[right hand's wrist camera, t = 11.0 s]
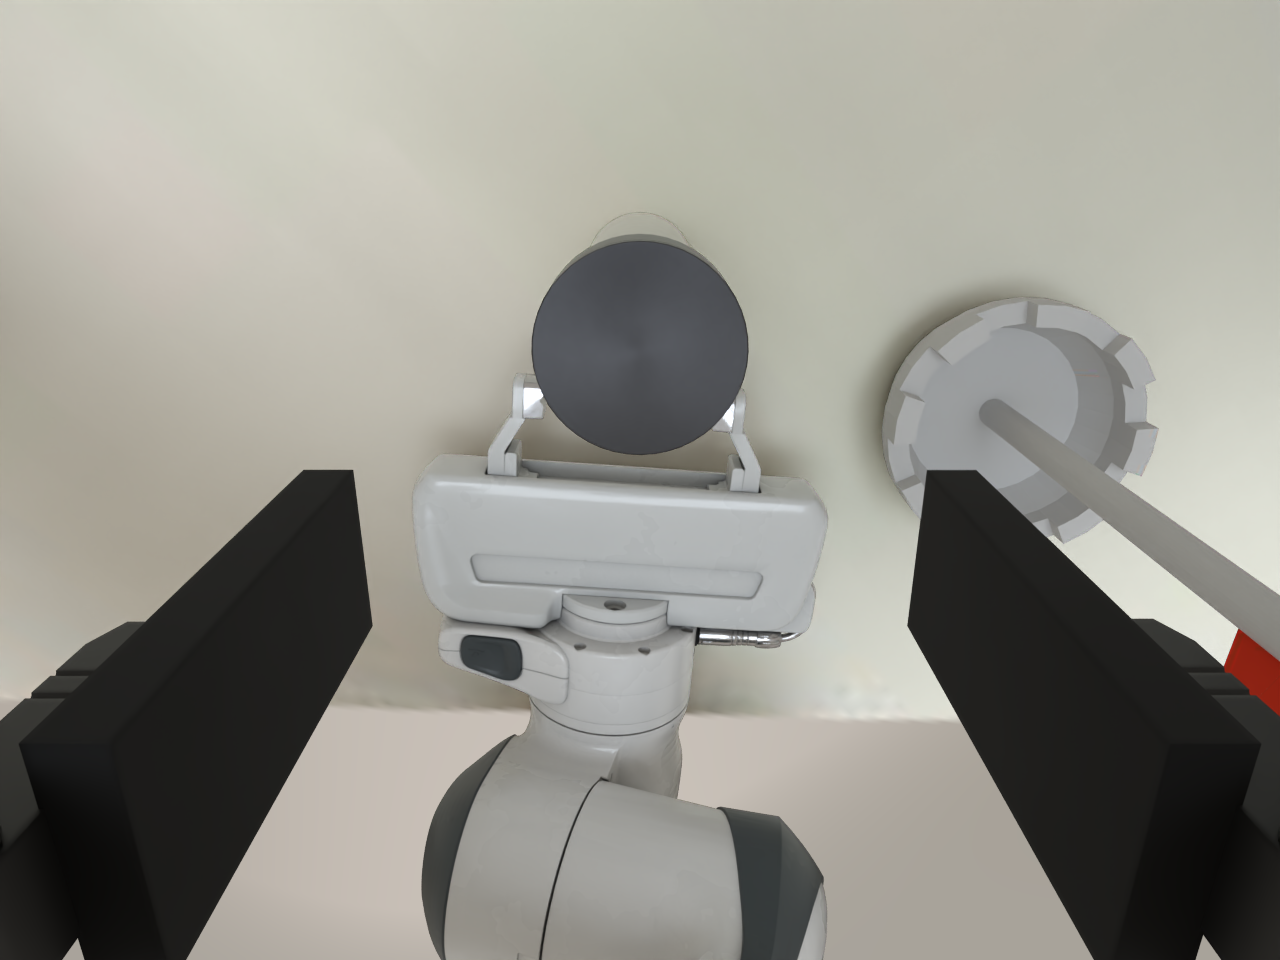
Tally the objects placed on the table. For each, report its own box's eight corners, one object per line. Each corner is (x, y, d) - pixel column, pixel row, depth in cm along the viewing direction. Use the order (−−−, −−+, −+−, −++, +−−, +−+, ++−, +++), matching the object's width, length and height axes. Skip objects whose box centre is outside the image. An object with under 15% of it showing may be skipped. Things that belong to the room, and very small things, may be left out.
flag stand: (964, 240, 45) (1493, 394, 17) (1156, 364, 48) (1899, 677, 19) (821, 448, 49) (1062, 846, 21) (1005, 552, 52) (1441, 1036, 23)
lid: (522, 249, 28) (512, 258, 26) (729, 219, 28) (737, 225, 26) (558, 445, 30) (551, 467, 28) (749, 419, 30) (758, 440, 28)
